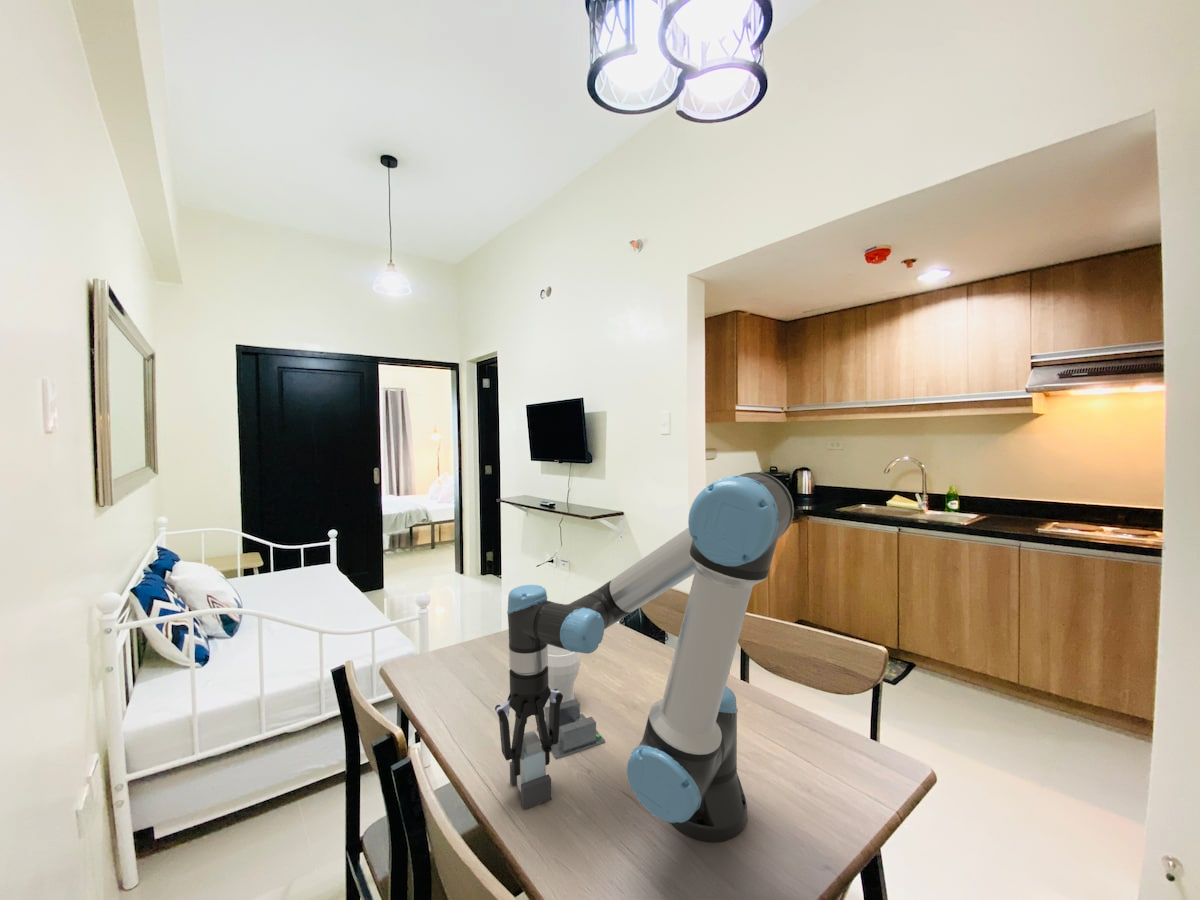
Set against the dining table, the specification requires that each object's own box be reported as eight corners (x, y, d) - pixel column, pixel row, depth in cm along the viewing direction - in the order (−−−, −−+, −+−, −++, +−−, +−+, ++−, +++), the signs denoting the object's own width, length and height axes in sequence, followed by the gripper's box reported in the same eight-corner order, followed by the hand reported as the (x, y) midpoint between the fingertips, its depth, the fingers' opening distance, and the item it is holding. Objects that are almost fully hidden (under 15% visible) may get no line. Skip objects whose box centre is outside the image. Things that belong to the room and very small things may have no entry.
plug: (544, 793, 93) (543, 741, 93) (527, 799, 91) (526, 747, 91) (535, 777, 97) (534, 728, 97) (519, 783, 96) (517, 733, 95)
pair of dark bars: (551, 799, 92) (551, 778, 92) (523, 809, 89) (523, 788, 89) (536, 772, 99) (536, 753, 99) (510, 781, 97) (509, 762, 97)
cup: (574, 719, 118) (574, 658, 118) (533, 714, 120) (533, 655, 120) (584, 696, 129) (584, 640, 128) (546, 692, 131) (546, 637, 130)
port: (605, 742, 109) (604, 720, 109) (556, 759, 103) (555, 736, 103) (582, 715, 120) (582, 695, 119) (536, 729, 114) (536, 708, 114)
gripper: (560, 650, 101) (562, 760, 101) (481, 669, 93) (484, 788, 94) (575, 664, 94) (577, 782, 95) (491, 686, 87) (495, 814, 87)
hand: (531, 784), depth 94 cm, fingers closed on plug, 3 cm apart
